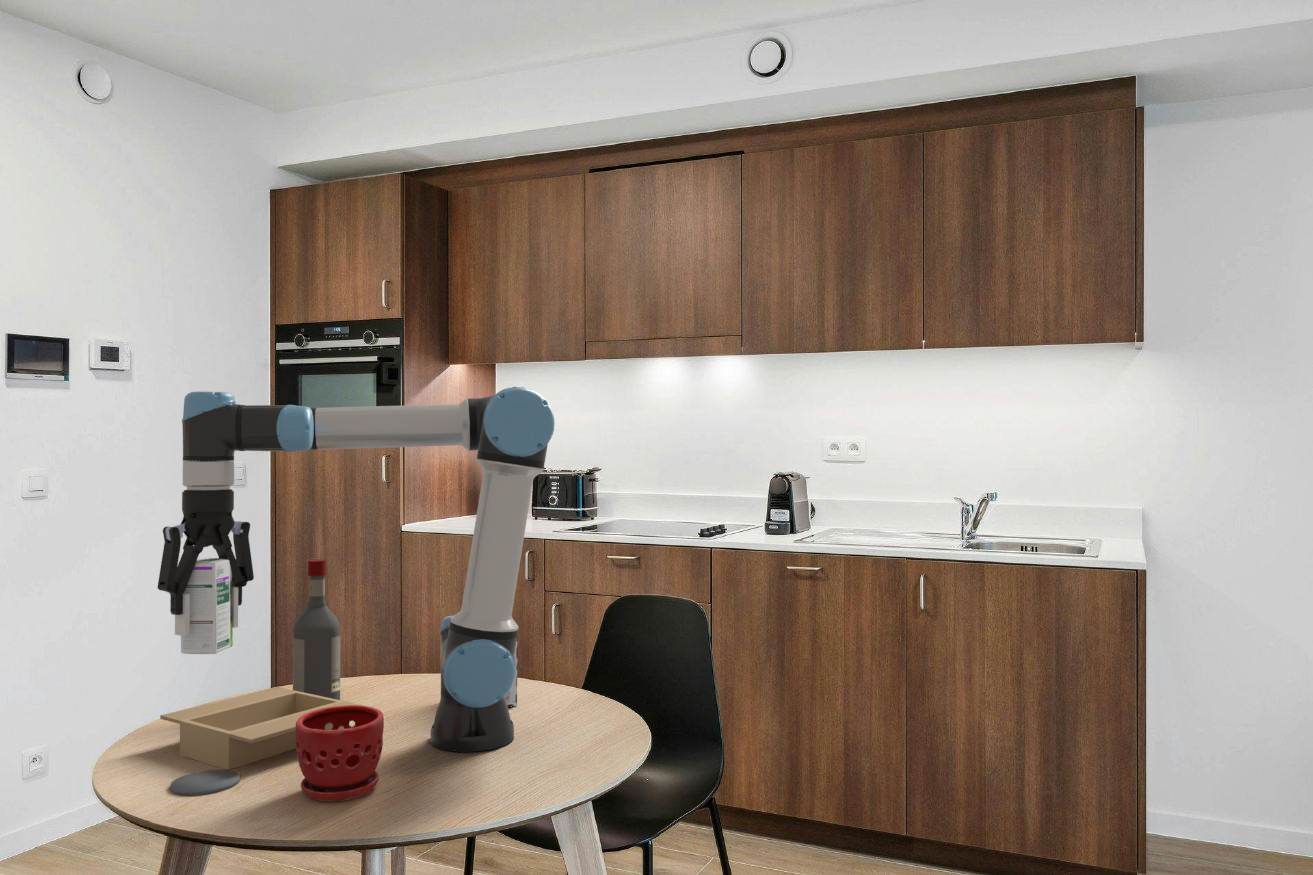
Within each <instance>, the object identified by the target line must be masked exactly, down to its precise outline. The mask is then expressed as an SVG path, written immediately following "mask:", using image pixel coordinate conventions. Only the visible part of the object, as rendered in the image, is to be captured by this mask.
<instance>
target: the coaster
mask: <svg viewBox="0 0 1313 875" xmlns="http://www.w3.org/2000/svg"><path fill="white" fill-rule="evenodd" d="M240 781H241V774H240V773H239V772H237V771H235V770H232V769H229V770H228V769H208V770H207V769H205V770H200V771H195V772H191V773H188V774H184V775H181V776H179V777H177V778H175V779H174V780H173V781H171V783H170V791H171V792H172V793H173V794H176V795H181V796H203V795H209V794H210V795H211V794H215V793H218V792H219V793H220V792H223V791H225V790H228V789H231V788H233V787H235V786H237V785H238V784H239V783H240Z"/></svg>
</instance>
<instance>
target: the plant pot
mask: <svg viewBox="0 0 1313 875" xmlns="http://www.w3.org/2000/svg"><path fill="white" fill-rule="evenodd" d="M384 721H385V717H384V713H383V712H382V710H380V709H378V708H375V707H373V706H370V705H369V706H367V705H365V706H363V704H360V705H344V706H333V707H327V708H322V709H318V710H315V711H312V712H309V713H306V714H305V715H303V716H301V717H300V718H299V719H298V720H297V722H296V756H297V762H298V765H299V769H300V771H301V773H302V775H303V777H304V778H303V779H302V781H301V783H300V788H301V791H302V792H303V794H305V796H307V797H309V798H310V799H312V800H316V801H320V802H332V803H333V802H343V801H349V800H355V799H357V798H359V797H362V796H364V795H366V794H369V792H371V791H372V790H374V788H375V787H376V786H377V785H378V784H379V783H378V782H379V779H380V776H379V773H378V771H376V769H377V767H378V765H379V762H380V759H381V756H382V753H383V752H382V751H383V745H384V741H383V740H384V739H383V737H384V736H383V735H384V729H385V722H384ZM350 722H354V725H352V726H351V725H350ZM328 723H332V725H333V728H332V729H331V730H325V725H326V724H328ZM340 726H343V727H344V729H339V730H338V728H339V727H340ZM317 729H319V730H317Z"/></svg>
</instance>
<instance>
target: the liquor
mask: <svg viewBox="0 0 1313 875" xmlns="http://www.w3.org/2000/svg"><path fill="white" fill-rule="evenodd" d="M327 564H328V563H327V559H320V558H319V559H309V560H308V561H307V576H309V591H308V593H309V595H308V596H309V597H308V602H307V606H306V608H305V609H304V610H303V611H302V612H301V614H300V615H298V617H297V618H296V620H294V623H293V625H292V626H293V627H292V628H293V629H292V630H293V632H292V637H293V638H292V690H294V691H299V692H304V693H308V694H313V695H318V696H322V697H327V698H332V699H336V700H341V640H342V639H341V635H342V634H341V630H342V628H341V624H340V622H339V619H338V618H337V617H336V615H335V614H334V613H333V612H332V610H330V609H329V607H328V606H327V602H326V576H327V575H328V574H327V571H328V569H327Z"/></svg>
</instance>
